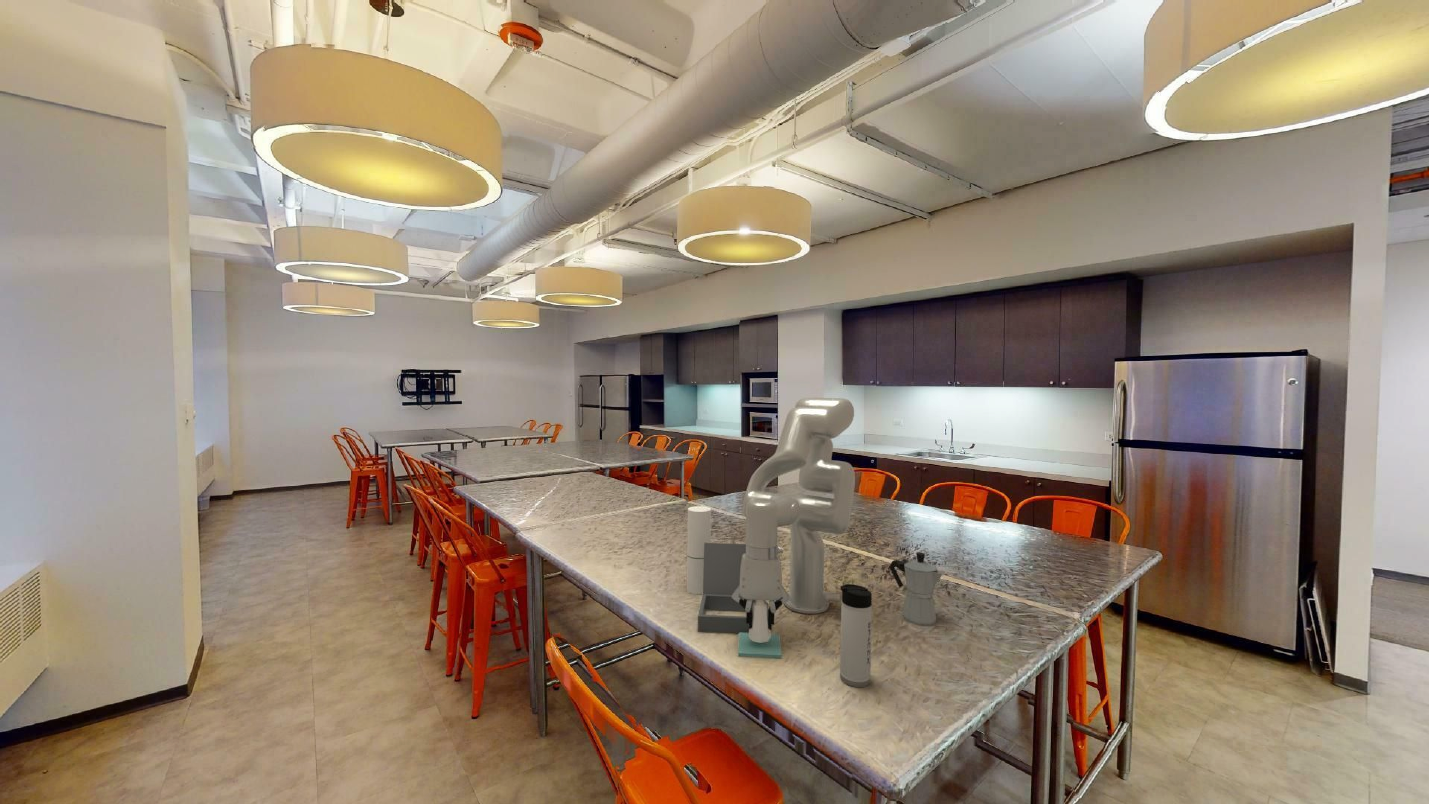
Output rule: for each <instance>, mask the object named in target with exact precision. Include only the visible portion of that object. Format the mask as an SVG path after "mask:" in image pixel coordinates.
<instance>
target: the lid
mask: <svg viewBox="0 0 1429 804" xmlns="http://www.w3.org/2000/svg"><path fill="white" fill-rule="evenodd" d="M743 554H746V543H729V542H727V543H726V542H711V543H704V571H703V594H714V595H732V593H733V592H734V590H735V589H736V587H737V586H738V585H739V583H740V567H741V560H742V556H743ZM703 594H702V595H703ZM739 595H740V594H739Z"/></svg>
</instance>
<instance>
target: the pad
mask: <svg viewBox="0 0 1429 804" xmlns="http://www.w3.org/2000/svg"><path fill="white" fill-rule="evenodd" d="M748 636H749V633H742V632H739V634H738V648H737V649H738V651H737V652H738V653H737V657H742V658H743V657H744V658H760V659H761V658H763V659H780V660H781V659H782V658H783V654H782V648H781V646H782V645H781V639H780V634H779V633H771V638H770V639H769V641H768V642H763V643H758V642H754V641H752V640H751V639H750V638H749V637H748Z"/></svg>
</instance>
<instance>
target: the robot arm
mask: <svg viewBox="0 0 1429 804" xmlns="http://www.w3.org/2000/svg"><path fill="white" fill-rule="evenodd" d="M854 419H855V409H854V405H853V403H852V402H851V400H849V399H847V398H835V397H834V398H833V397H806V398H801V399H799V400H797V402H796V403H795V407H794V408H792V409H790V410H789V411H788V413H787V415H786V418H785V421H784V424H783V428H782V430H781V434H780V437H779V440H778V444H777V447H776V449H775V453H774V454H773V455H772V456H770V457H769V458H767V460H765V461H764V462H763V463H762V464H760V466H759V467H758V468H757V469H755V471H754V473H753V474H752V475H751V477H750V479H749V481H748V484H747V487H746V491H745V494H744V498H743V502H742V504H743V505H742V509H743V514H744V515H745V544H746V554H743V556H742V560H741V567H740V583H739V585H738V586H737V587H736V589H735V590H734V592H733V593H732V599H734V600H735V601H737V602H738V603H739V604H740V605H741V606H742V607H743V608H744V609H745V611H744V612H746V613H745V616H746V623H747V624H749V629H751V628H752V611H751V610H752V608H751V604H752V600H766V601H768V602H769V603H768V605H769V606H768V609H769V611H768V629H769V630H770V631H771V630H772V627H773V625H774V626H775V613H776V612H777V610H778V609H780V608H781V607H782V605H783V604H784V605H785V606H786V608H788V609H789V610H792V611H793V612H796V613H800V614H807V615H809V614H810V615H815V614H821V613H824V612H826V611H827V610H828V609H829V605H830V604H829V603H830V602H837V603H839V602H841V594H838V593H837V594H835V592H834V591H827V590H825V588H824V586H825V585H824V578H825V577H824V576H825V575H824V574H825V543H824V541H823V538H822V536H821V534H820V533H821V532H822V533H827V534H833V535H843V534H845V533H846V532H847V531H848V529H849V526H850V522H851V518H852V517H851V515H852V508H853V501H854V500H853V499H854V493H855V486H856V484H855V483H856V474H855V469H854V468H853V466H852V464H851V463H850V462H847V461H841V460H833V459H832V456H833V450H834V449H833V448H834V444H833V441H832V439H836V438H837V437H839V436H840V435H841V434H842V433H843V432H844V431H846V430H847V429H848V428H849V427H850V426H852V425H851V424H852V422H853V420H854ZM796 470H799V473H798V481H799V482H798V483H799V485H800V487H801V488H802V489H803V490H805V491H810V492H817V493H822V494H823V493H824V494H831V495H833V498H831V497H824V496H817V495H810V494H798V495H795V496H794V497H793V496H792V495H788V494H781V493H776V492H770V491H765V489H766V488H767V486H768V485H769V483H770V482H772V481H773V480H774V479H776V478H778V477H780V476H782V475H785V474H788V473H791V472H794V471H796ZM787 526H789V528H790V529H789V530H790V557H789V558H790V563H789V564H790V565H789V567H790V568H789V569H790V570H789V573H790V574H789V593H788V592H787V590H786V589H785V587H784V586H783V573H782V562H781V557H780V555H779V554H781V553H782V554H783V553H784V546H779V545H778V529H779V528H780V527H781V528H782V527H787ZM739 594H740V595H739ZM745 599H746V600H745Z"/></svg>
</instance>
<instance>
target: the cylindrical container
mask: <svg viewBox="0 0 1429 804" xmlns="http://www.w3.org/2000/svg"><path fill="white" fill-rule="evenodd" d="M711 529H712V508H711V507H709V506H705V505H704V506H701V505H699V506H698V505H695V506H689V507H688V508H687V534H686V535H687V536H686V537H687V542H686V543H687V545H686V546H687V547H686V548H687V549H686V550H687V551H686V558H687V559H686V591H687V592H688V593H689V594H693V595H703V571H704V543H712V542H711V540H712V539H711V536H712V530H711Z"/></svg>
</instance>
